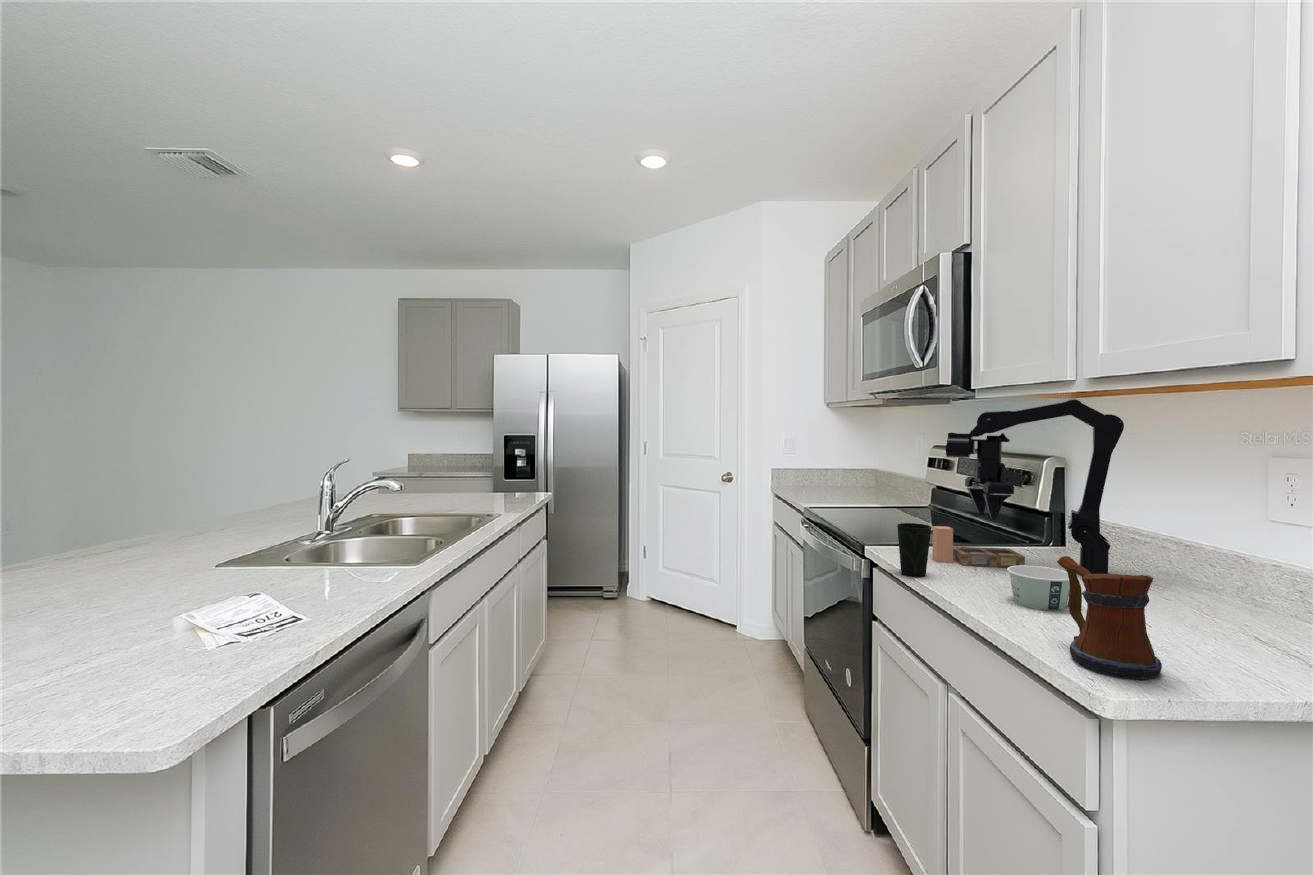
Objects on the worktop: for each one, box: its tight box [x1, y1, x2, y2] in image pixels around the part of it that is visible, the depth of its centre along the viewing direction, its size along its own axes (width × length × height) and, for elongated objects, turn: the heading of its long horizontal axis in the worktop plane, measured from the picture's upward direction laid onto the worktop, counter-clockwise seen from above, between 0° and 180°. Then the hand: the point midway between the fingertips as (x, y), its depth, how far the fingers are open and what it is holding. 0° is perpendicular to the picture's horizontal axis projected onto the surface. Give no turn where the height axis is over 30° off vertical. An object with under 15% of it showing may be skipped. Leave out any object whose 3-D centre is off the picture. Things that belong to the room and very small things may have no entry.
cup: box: [896, 522, 932, 578], centre depth 149 cm, size 8×8×12 cm
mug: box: [1056, 555, 1163, 681], centre depth 97 cm, size 18×12×15 cm, turn 0°
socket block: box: [953, 546, 1026, 569], centre depth 162 cm, size 10×15×3 cm
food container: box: [1006, 564, 1070, 611], centre depth 126 cm, size 12×12×6 cm
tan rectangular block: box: [931, 525, 954, 564], centre depth 163 cm, size 4×4×9 cm
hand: (987, 517), depth 162 cm, fingers open, 9 cm apart
